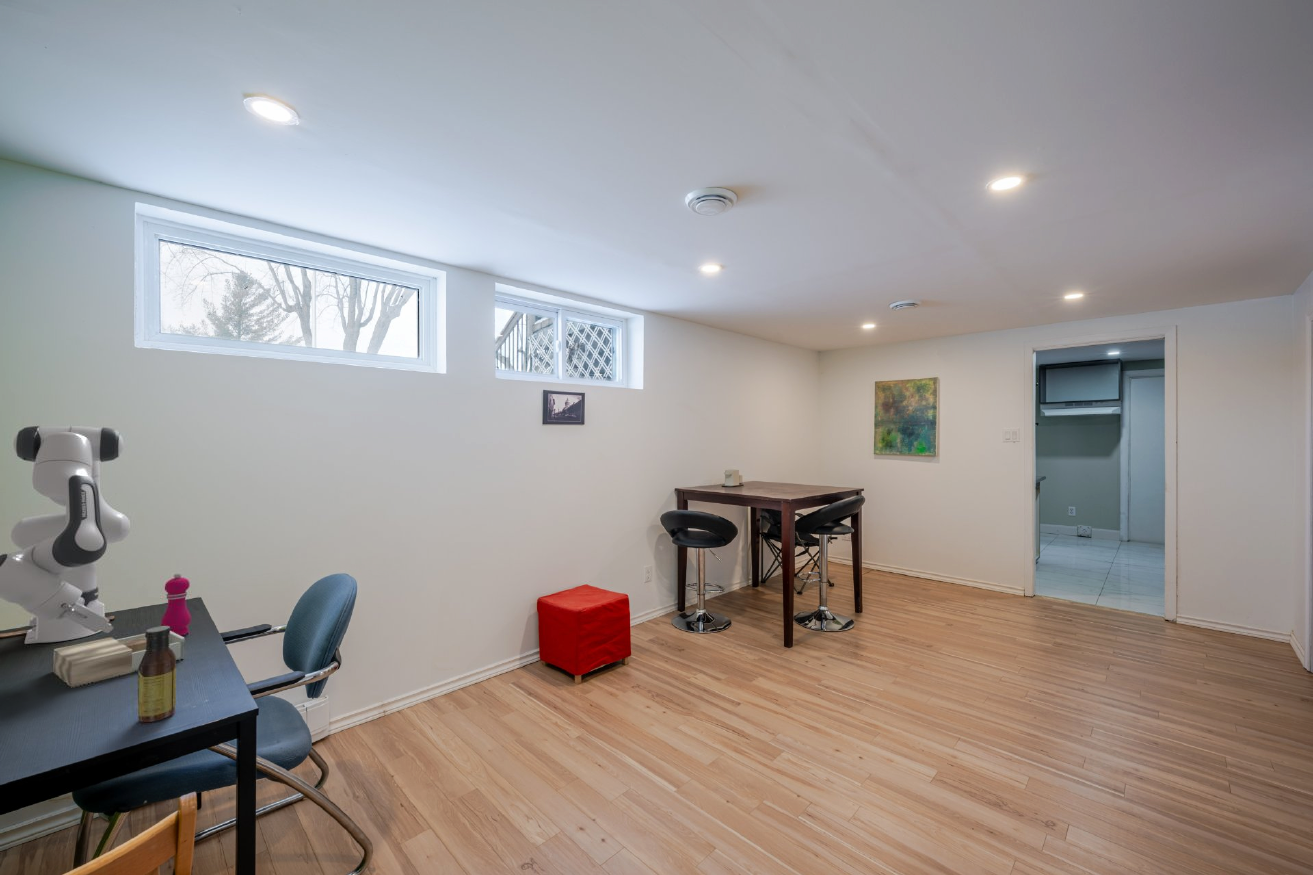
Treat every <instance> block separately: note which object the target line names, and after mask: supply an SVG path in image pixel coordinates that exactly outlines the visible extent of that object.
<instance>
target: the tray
mask: <svg viewBox="0 0 1313 875" xmlns="http://www.w3.org/2000/svg"><path fill="white" fill-rule="evenodd" d="M141 638H145V633H142V634H136V635H132V636H128V637H123V638H118V639H116V640H117V641H118V642H120V643H122V642H127V641H132V640H136V639H141ZM185 641H186V638H185V637H184V636H180V635H178V634H176V633H174V632H172V631H170V633H169V648H170V649H171V650H172V651H173V652H174V654H175V657H176V660H179V661H182V660H181V659H183V660H184V659H185V644H186V642H185ZM145 652H146V650H143V651H138V652H134V653H132V673H135V671H136V672H138V668H139V665H140V663H141V661H142V658H143V656H144V654H145Z"/></svg>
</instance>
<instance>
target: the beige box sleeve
mask: <svg viewBox="0 0 1313 875" xmlns="http://www.w3.org/2000/svg"><path fill="white" fill-rule="evenodd" d="M52 672H53V673H54V674H55V675H56V676H57V675H58V676H59V677H58V676H57V677H58V678H60V680H62V681H63V682H64V683H65V682H66V683H67V684H66V683H65V684H66V685H68V687H70V686H71V687H70V688H71V689H72V687H73V688H75V687H74V686H77V687H81V686H84V685H83V684H85V685H89V684H92V683H91V682H93V683H97V682H100V680H101V681H104V680H107V679H112V678H116V677H120V676H122V675H123V676H124V675H128V674H131V673H133V672H132V649H130V648H128V647H127V646H125V645H123V644H122V643H120V642H118V641H117V639H115V638H114V637H112V636H111V637H106V638H101V639H97V640H92V641H86V642H82V643H77V644H73V645H68V646H64V647H63V646H62V647H59V648H54V649H53V666H52ZM119 675H120V676H119ZM88 683H89V684H88ZM80 685H81V686H80Z"/></svg>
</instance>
